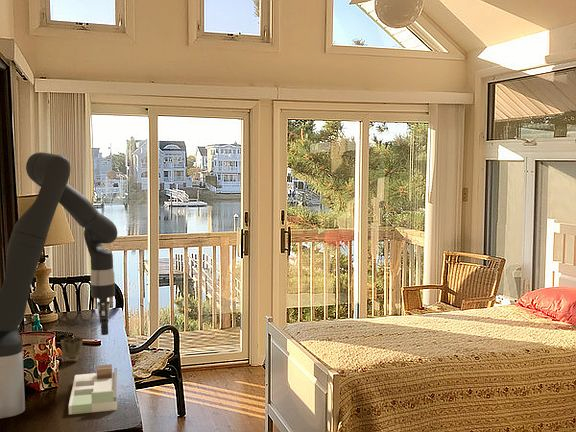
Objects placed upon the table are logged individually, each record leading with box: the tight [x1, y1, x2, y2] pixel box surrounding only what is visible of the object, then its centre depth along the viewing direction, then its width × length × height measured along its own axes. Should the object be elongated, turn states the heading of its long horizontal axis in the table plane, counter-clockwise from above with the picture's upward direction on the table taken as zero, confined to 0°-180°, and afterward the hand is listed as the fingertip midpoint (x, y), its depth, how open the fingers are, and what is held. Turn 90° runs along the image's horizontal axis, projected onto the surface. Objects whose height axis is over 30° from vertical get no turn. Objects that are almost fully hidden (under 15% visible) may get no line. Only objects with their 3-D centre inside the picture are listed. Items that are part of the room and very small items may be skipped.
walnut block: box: [96, 364, 113, 379], centre depth 205 cm, size 4×4×3 cm
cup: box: [60, 336, 84, 363], centre depth 230 cm, size 8×7×8 cm
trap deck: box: [68, 367, 118, 415], centre depth 195 cm, size 28×13×6 cm, turn 15°
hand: (104, 334), depth 212 cm, fingers closed
